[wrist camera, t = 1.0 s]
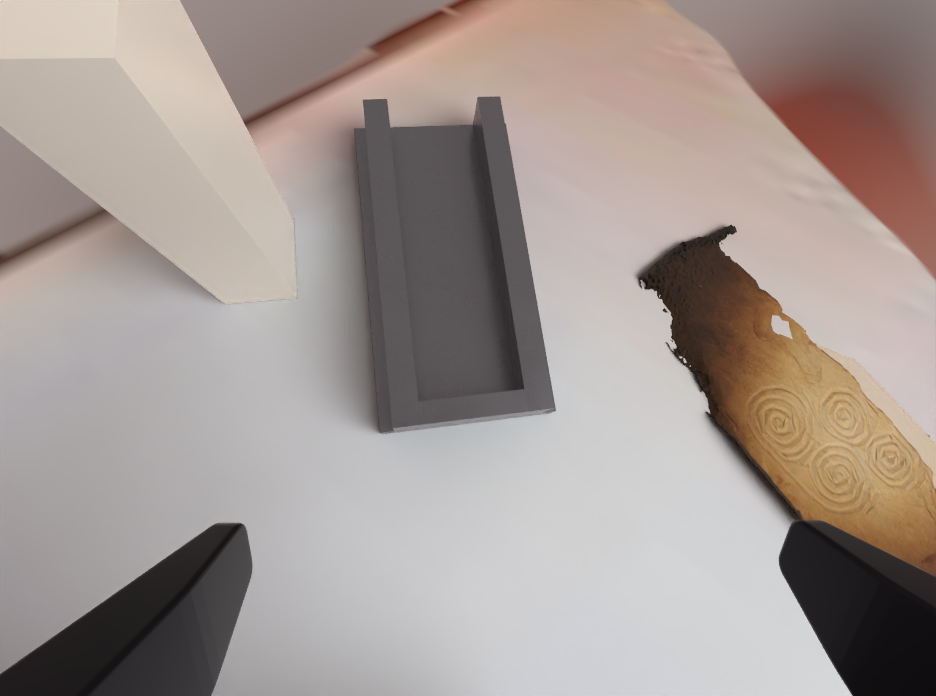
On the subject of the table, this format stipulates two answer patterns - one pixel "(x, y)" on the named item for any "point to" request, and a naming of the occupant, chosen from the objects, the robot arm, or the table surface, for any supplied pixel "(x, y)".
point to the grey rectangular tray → (448, 274)
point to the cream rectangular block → (148, 136)
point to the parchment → (800, 406)
